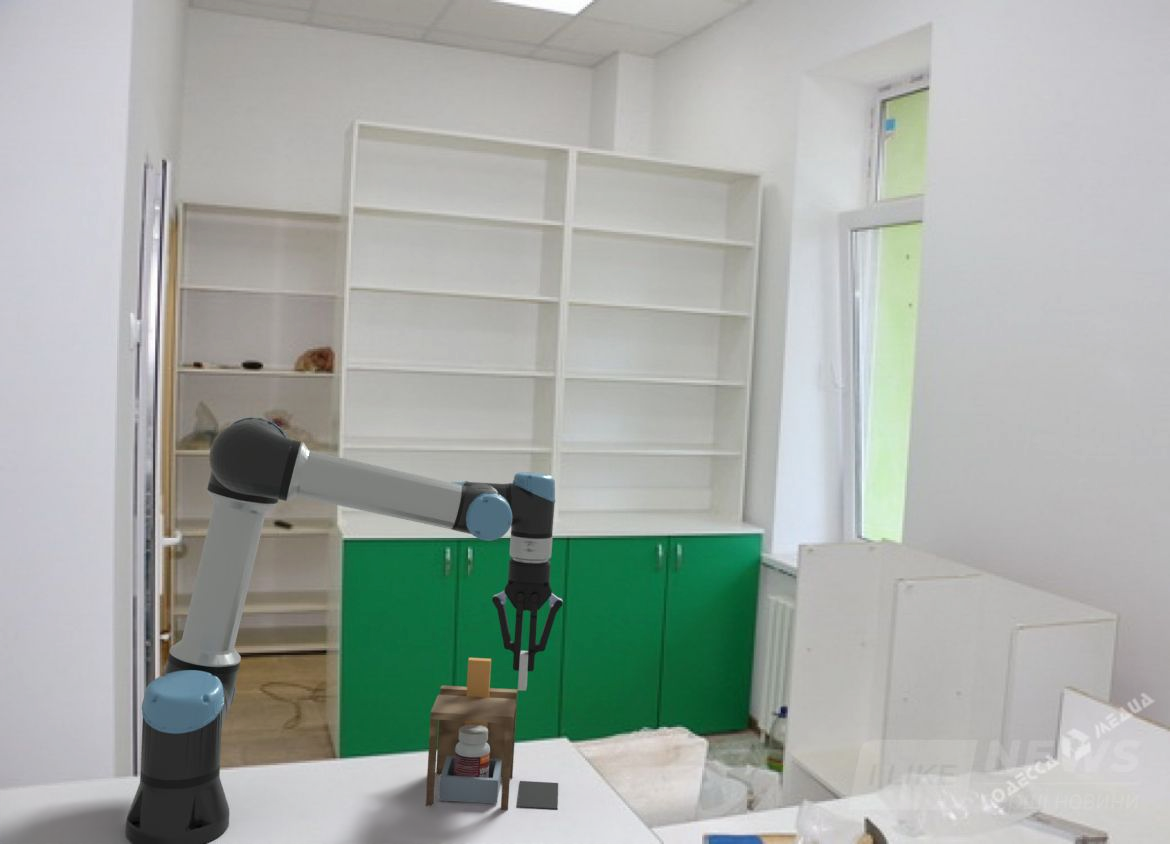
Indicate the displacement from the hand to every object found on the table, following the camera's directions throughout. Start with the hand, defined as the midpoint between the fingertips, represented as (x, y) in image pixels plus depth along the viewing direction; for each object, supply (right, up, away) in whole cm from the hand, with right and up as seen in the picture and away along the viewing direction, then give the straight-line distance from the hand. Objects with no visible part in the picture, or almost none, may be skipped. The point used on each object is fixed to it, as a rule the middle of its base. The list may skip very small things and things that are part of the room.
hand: (522, 688), depth 187 cm
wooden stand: (-9, -17, -4) cm, 20 cm away
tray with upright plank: (-9, -17, -4) cm, 20 cm away
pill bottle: (-9, -18, -4) cm, 20 cm away
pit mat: (+3, -18, -4) cm, 19 cm away
